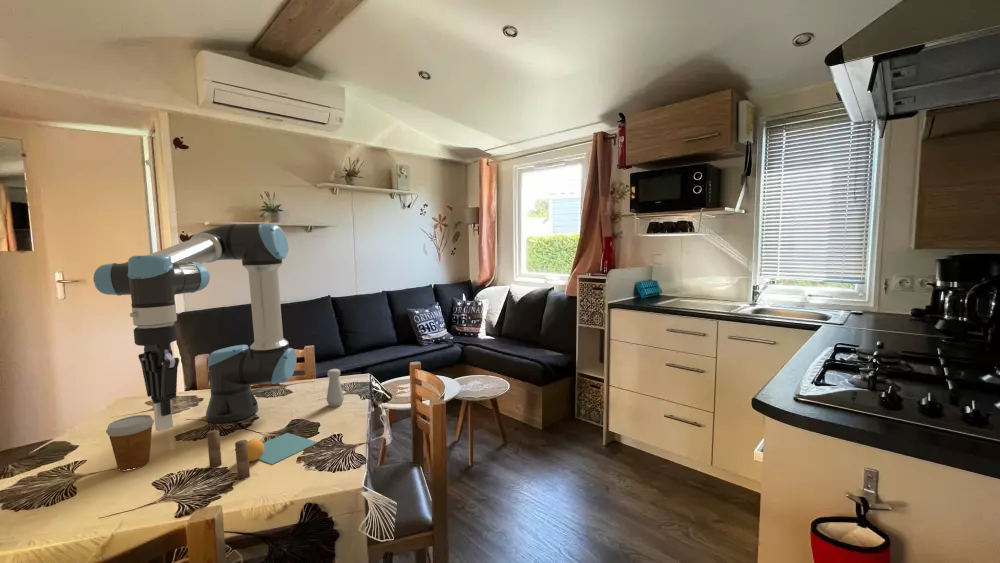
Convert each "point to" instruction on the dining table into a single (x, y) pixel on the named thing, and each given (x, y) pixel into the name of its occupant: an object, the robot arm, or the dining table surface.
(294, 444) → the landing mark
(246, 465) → the outer post
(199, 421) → the dining table surface
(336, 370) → the salt shaker
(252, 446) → the ball
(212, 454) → the inner post
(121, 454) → the disposable coffee cup
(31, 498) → the dining table surface
